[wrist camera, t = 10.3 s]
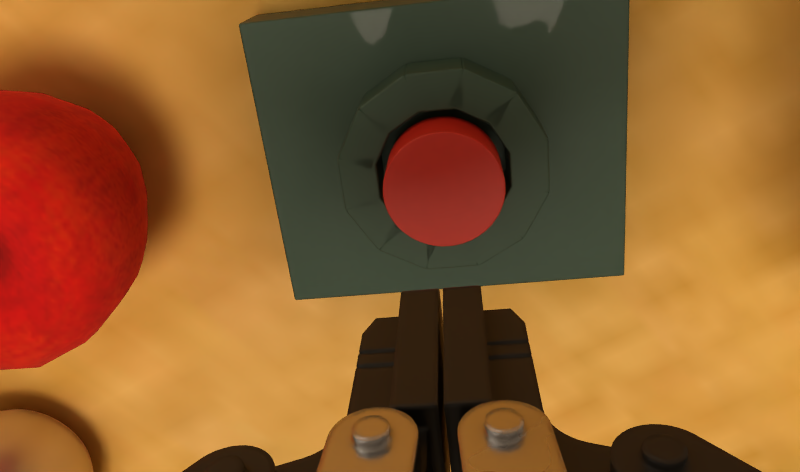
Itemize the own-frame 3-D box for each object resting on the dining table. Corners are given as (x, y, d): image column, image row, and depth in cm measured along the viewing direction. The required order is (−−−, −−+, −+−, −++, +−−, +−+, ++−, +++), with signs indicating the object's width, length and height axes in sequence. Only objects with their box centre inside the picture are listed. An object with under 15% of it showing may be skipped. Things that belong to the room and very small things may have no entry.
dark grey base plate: (613, -27, 22) (647, -17, 19) (610, 249, 26) (637, 301, 23) (255, 15, 24) (221, 32, 20) (305, 273, 28) (285, 326, 24)
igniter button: (497, 110, 21) (502, 125, 19) (504, 219, 22) (508, 241, 21) (380, 121, 21) (375, 138, 20) (393, 228, 23) (390, 251, 21)
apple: (157, 308, 29) (64, 435, 22) (-52, 226, 28) (-223, 331, 21) (222, 117, 25) (135, 194, 18) (-16, 13, 24) (-209, 53, 17)
